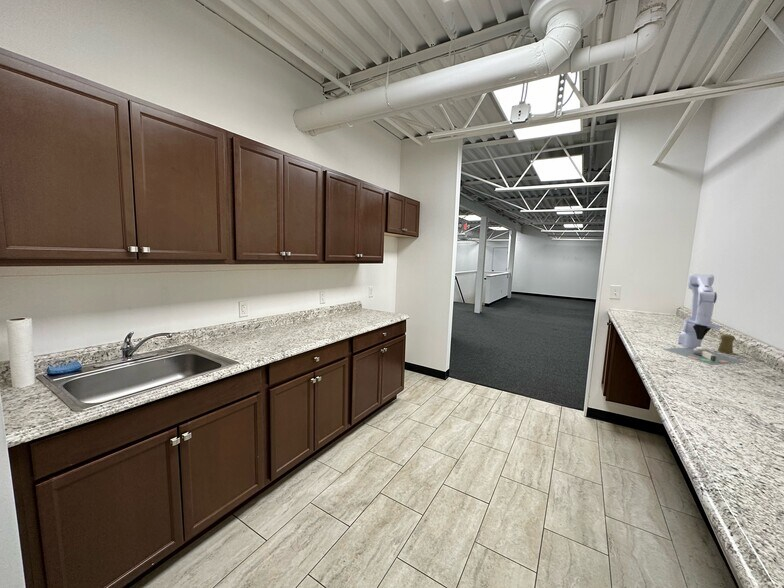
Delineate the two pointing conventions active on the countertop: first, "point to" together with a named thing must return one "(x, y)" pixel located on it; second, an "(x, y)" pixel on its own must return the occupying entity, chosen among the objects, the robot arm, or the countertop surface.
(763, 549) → the countertop surface
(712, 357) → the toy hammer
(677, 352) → the board
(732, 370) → the countertop surface
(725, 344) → the cork
